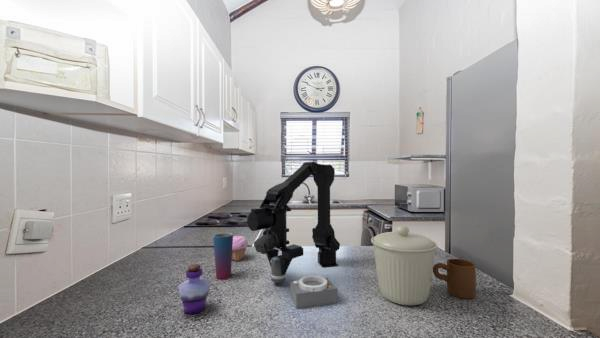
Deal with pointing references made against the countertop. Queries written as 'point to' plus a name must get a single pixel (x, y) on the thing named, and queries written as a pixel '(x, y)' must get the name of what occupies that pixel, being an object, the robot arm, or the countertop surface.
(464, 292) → the mug
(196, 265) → the potion bottle
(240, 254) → the cupcake
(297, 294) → the camera body
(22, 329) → the countertop surface
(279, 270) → the lens
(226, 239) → the cup
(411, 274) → the canister
